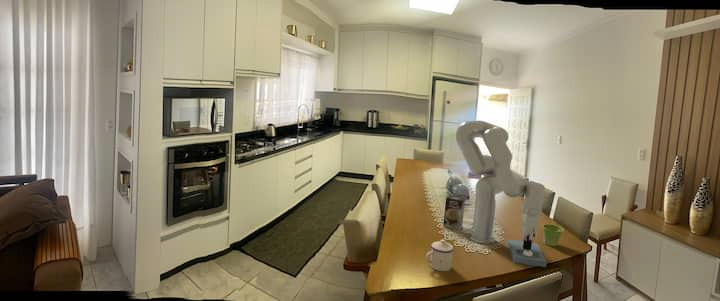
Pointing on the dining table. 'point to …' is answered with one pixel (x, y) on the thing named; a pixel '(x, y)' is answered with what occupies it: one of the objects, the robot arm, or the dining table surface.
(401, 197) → the dining table surface
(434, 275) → the dining table surface
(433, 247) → the teacup with lid
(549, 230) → the plant pot
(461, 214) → the coffee box
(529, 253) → the ball
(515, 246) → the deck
